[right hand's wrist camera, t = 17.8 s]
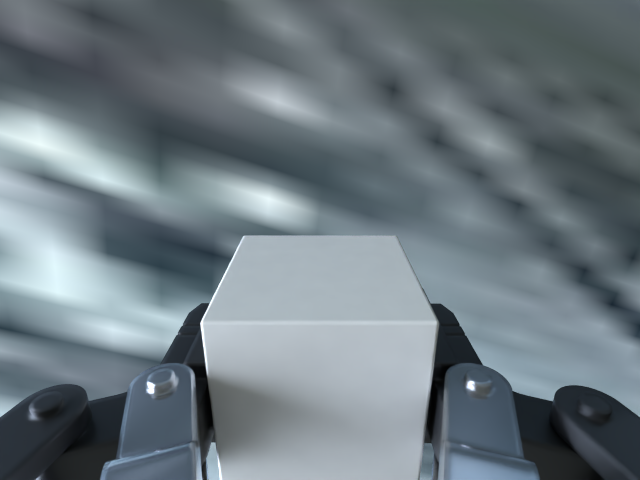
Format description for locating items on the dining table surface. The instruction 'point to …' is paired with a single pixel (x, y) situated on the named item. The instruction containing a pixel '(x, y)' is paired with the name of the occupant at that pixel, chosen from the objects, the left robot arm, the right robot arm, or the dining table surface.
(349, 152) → the dining table surface
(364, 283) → the block
